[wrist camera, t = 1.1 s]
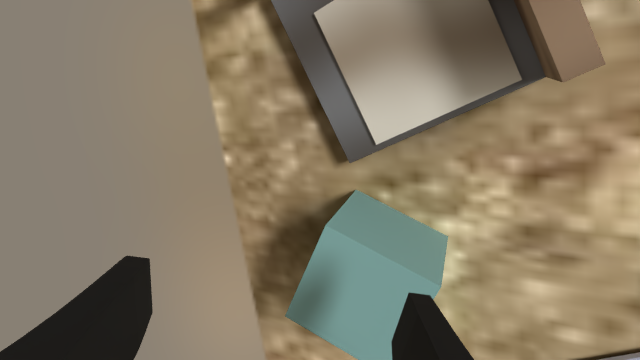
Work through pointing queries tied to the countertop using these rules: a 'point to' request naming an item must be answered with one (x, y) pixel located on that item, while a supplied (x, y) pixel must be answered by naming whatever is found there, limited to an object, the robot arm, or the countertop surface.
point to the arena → (429, 58)
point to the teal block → (367, 276)
